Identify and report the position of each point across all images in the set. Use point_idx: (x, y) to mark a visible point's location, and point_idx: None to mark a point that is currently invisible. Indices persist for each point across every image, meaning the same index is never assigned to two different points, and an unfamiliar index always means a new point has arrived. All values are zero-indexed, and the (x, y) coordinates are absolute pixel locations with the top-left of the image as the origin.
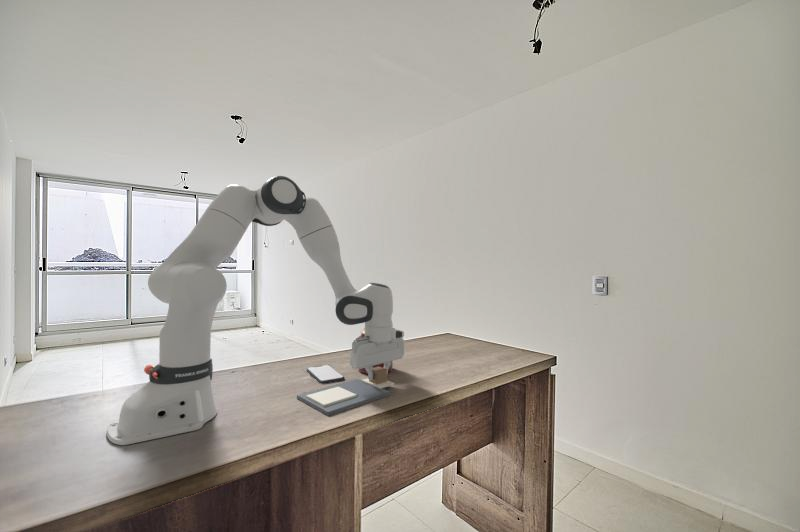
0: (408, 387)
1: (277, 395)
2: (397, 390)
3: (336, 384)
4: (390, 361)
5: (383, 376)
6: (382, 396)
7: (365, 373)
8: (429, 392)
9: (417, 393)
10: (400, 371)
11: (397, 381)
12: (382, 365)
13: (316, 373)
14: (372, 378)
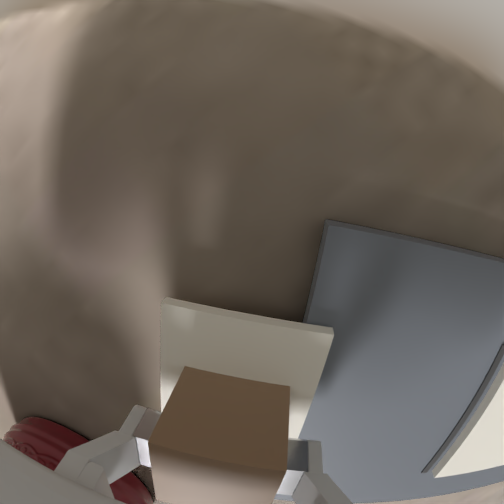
0: (96, 206)
1: (499, 499)
2: (199, 233)
3: (384, 500)
4: (57, 471)
5: (211, 409)
6: (409, 237)
7: (147, 490)
8: (89, 34)
9: (150, 70)
10: (3, 380)
11: (77, 334)
12: None
13: None
14: (311, 443)
